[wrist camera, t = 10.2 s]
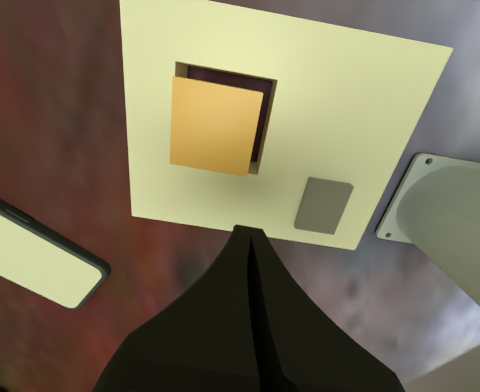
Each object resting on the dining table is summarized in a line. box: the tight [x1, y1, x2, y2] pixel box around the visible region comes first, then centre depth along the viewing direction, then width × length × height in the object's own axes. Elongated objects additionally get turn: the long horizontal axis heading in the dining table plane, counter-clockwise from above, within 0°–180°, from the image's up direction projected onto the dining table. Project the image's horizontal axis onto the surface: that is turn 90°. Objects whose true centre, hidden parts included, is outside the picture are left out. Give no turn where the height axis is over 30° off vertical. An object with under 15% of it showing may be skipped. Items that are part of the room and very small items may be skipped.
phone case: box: [0, 199, 111, 309], centre depth 23 cm, size 9×2×16 cm
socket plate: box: [120, 0, 453, 250], centre depth 16 cm, size 18×14×4 cm
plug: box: [170, 76, 263, 177], centre depth 14 cm, size 4×4×7 cm
